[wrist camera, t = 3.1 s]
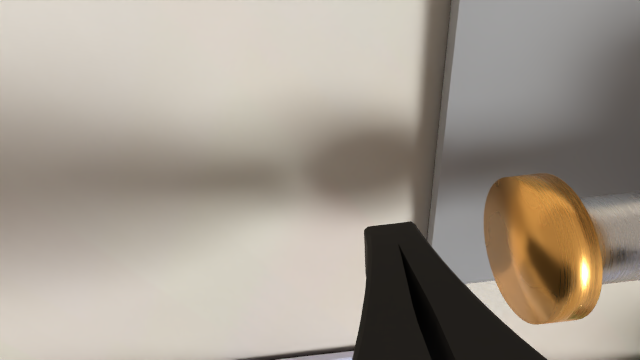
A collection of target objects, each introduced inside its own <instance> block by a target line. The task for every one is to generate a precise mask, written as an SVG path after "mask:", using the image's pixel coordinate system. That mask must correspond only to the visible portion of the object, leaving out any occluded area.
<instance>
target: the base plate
mask: <svg viewBox="0 0 640 360" xmlns="http://www.w3.org/2000/svg"><path fill="white" fill-rule="evenodd" d="M537 173H548V174H551V175H554V176H556V177H558V178H560V179H561V180H563V181H564V182H565V183H566V184H568V185H569V186H570V187H571V188H572V189H573V191H574V192H575V193H576V194H577V195H578V197H587V196H596V195H605V194H613V193H622V192H631V191H640V0H452V1H451V10H450V20H449V30H448V40H447V50H446V60H445V69H444V79H443V89H442V99H441V109H440V119H439V128H438V138H437V148H436V158H435V168H434V178H433V187H432V197H431V207H430V217H429V227H428V237H427V241H428V243H429V244H430V245H431V246H432V248H433V249H434V250H435V251H436V253H437V254H438V255H439V256H440V257H441V259H442V260H443V261H444V262H445V263H446V264H447V266H448V267H449V268H450V269H451V270H452V271H453V272H454V273H455V274H456V275H457V277H458V278H459V279H460V280H461V281H462V282H463V283H464V284H467V283H476V282H485V281H493V280H495V278H494V276H493V273H492V270H491V267H490V263H489V259H488V255H487V251H486V245H485V238H484V208H485V202H486V199H487V195H488V193H489V190H490V189H491V187H492V185H493V184H494V183H495V182H496V181H497V180H499V179H501V178H504V177H511V176H520V175H528V174H537Z"/></svg>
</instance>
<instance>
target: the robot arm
mask: <svg viewBox="0 0 640 360" xmlns="http://www.w3.org/2000/svg"><path fill="white" fill-rule="evenodd" d="M364 239H365V267H366V289H365V296H364V303H363V309H362V315H361V321H360V326H359V332H358V336H357V341H356V345H355V349H354V351H347V352H338V353H330V354H321V355H312V356H304V357H295V358H286V359H277V360H547V359H546V358H545V357H543V356H542V355H541V354H540V353H539V352H537V351H536V350H535V349H534V348H532V347H531V346H530V345H529V344H528V343H526V342H525V341H524V340H523V339H522V338H520V337H519V336H518V335H517V334H516V333H515V332H514V331H512V330H511V329H510V328H509V327H508V326H507V325H506V324H504V323H503V322H502V321H501V320H500V319H499V318H498V317H497V316H496V315H495V314H494V313H493V312H492V311H491V310H489V309H488V308H487V307H486V306H485V305H484V304H483V303H482V302H481V301H480V300H479V299H478V298H477V297H476V296H475V295H474V294H473V293H472V292H471V291H470V290H469V288H468V287H467V286H466V285H465V284H464V283H463V282H462V281H461V280H460V279H459V278H458V277H457V275H456V274H455V273H454V272H453V271H452V270H451V269H450V268H449V267H448V266H447V264H446V263H445V262H444V261H443V260H442V259H441V257H440V256H439V255H438V254H437V253H436V251H435V250H434V249H433V248H432V246H431V245H430V244H429V243H428V241H427V240H426V239H425V237H424V236H423V235H422V234H421V232H420V231H419V229H418V228H417V227H416V225H415V224H414V223H412V222H404V223H395V224H387V225H378V226H370V227H367V228H366V229H365V230H364Z"/></svg>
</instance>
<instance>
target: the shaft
mask: <svg viewBox="0 0 640 360" xmlns="http://www.w3.org/2000/svg"><path fill="white" fill-rule="evenodd" d="M484 238H485V245H486V251H487V255H488V259H489V263H490V267H491V270H492V273H493V276H494V278H495V281H496V283H497V286H498V288H499V290H500V292H501V294H502V295H503V297H504V299H505V301H506V302H507V303H508V305H509V306H510V308H511V309H512V310H513V311H514V312H515V313H516V314H517V315H518V316H519V317H520V318H521V319H522V320H524V321H526V322H528V323H530V324H546V323H554V322H563V321H572V320H578V319H582V318H584V317H585V316H587V315H588V314H589V313H590V312H591V311H592V310H593V308H594V307H595V305H596V303H597V301H598V299H599V295H600V291H601V286H602V284H608V283H617V282H626V281H635V280H640V191H631V192H622V193H613V194H605V195H596V196H587V197H578V195H577V194H576V193H575V192H574V191H573V189H572V188H571V187H570V186H569V185H568V184H566V183H565V182H564V181H563V180H561V179H560V178H558V177H556V176H554V175H551V174H548V173H537V174H528V175H520V176H511V177H504V178H501V179H499V180H497V181H496V182H495V183H494V184H493V185H492V187H491V189H490V190H489V193H488V195H487V199H486V202H485V208H484Z"/></svg>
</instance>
